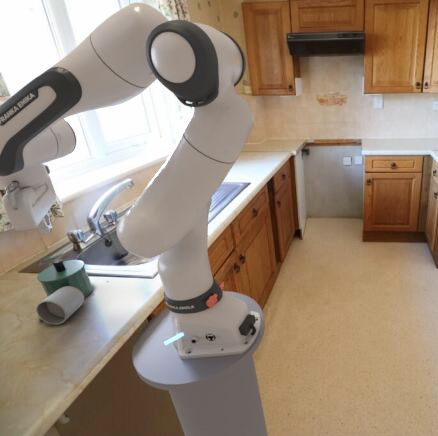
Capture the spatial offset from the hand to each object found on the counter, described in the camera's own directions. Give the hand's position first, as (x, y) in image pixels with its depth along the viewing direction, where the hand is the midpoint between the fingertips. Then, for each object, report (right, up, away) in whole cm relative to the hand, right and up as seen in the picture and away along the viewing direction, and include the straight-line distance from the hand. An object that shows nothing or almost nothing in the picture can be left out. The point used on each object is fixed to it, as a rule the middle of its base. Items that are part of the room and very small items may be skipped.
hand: (47, 232), depth 76 cm
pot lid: (-11, -12, +17) cm, 24 cm away
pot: (-11, -20, +21) cm, 31 cm away
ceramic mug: (-7, -24, +13) cm, 28 cm away
